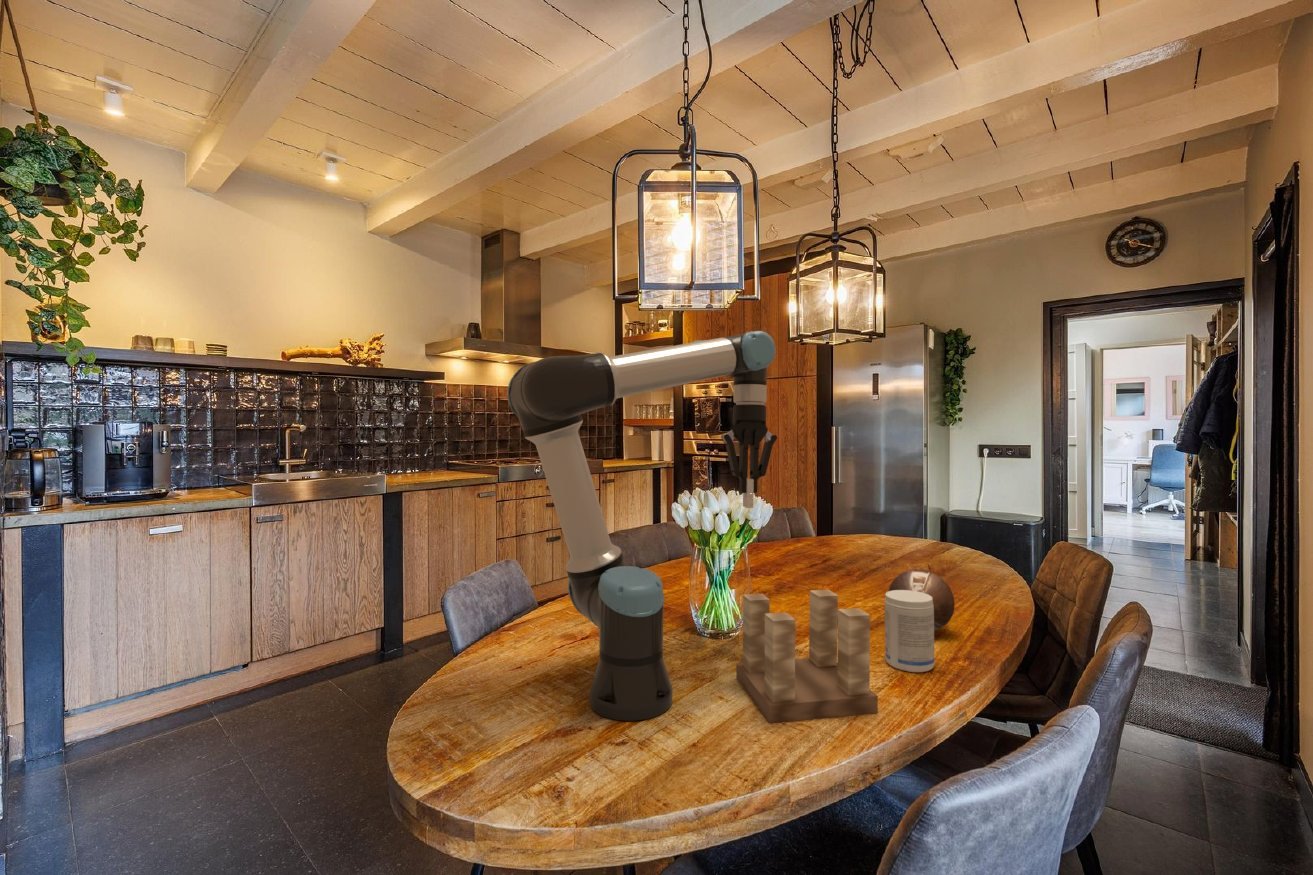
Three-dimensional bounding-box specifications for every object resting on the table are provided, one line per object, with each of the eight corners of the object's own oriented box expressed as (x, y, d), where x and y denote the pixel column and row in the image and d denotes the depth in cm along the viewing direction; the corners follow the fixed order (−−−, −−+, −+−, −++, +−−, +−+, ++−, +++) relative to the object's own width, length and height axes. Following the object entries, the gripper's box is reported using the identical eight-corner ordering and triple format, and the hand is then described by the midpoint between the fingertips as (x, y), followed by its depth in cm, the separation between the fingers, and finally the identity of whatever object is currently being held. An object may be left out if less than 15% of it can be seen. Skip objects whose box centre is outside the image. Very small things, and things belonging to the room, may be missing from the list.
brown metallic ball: (892, 639, 138) (892, 576, 138) (883, 618, 153) (883, 561, 152) (961, 644, 135) (962, 579, 134) (945, 623, 149) (946, 565, 149)
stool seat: (769, 722, 99) (769, 623, 99) (736, 677, 117) (736, 593, 116) (877, 712, 102) (878, 616, 102) (829, 670, 120) (830, 588, 120)
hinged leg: (817, 667, 114) (818, 596, 114) (808, 657, 119) (809, 589, 118) (836, 665, 115) (837, 595, 114) (826, 656, 119) (827, 588, 119)
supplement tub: (943, 667, 122) (944, 597, 122) (916, 678, 117) (917, 604, 116) (901, 652, 130) (902, 586, 130) (874, 661, 125) (875, 593, 125)
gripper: (770, 405, 139) (768, 504, 139) (717, 404, 136) (715, 505, 136) (783, 404, 131) (781, 509, 131) (727, 402, 129) (725, 509, 129)
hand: (748, 507), depth 134 cm, fingers closed
